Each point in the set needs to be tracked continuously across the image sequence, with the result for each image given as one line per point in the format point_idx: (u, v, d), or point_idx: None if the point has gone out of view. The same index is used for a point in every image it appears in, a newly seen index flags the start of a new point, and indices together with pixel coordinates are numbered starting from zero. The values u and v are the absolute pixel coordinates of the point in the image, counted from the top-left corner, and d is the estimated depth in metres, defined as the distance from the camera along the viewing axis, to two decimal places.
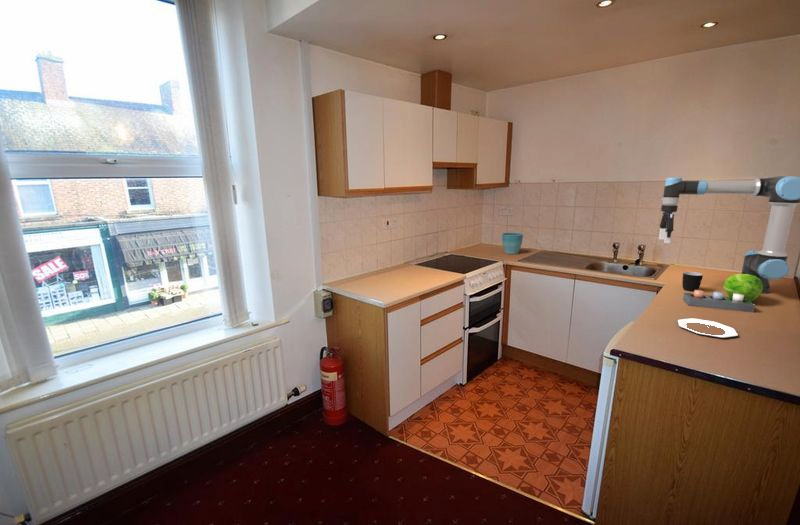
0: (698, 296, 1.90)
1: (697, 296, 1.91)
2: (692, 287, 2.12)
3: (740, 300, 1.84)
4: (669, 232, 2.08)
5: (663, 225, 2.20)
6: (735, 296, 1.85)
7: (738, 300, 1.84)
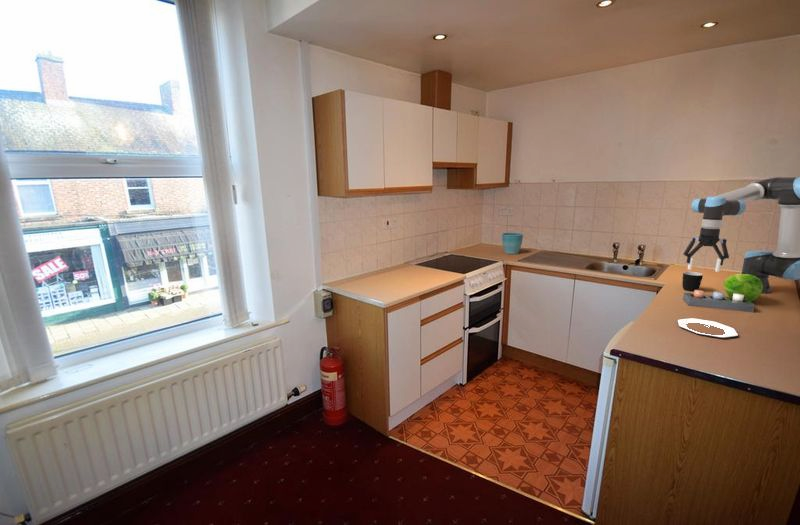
0: (698, 296, 1.90)
1: (697, 296, 1.91)
2: (692, 287, 2.12)
3: (740, 300, 1.84)
4: (687, 257, 1.90)
5: (717, 254, 1.85)
6: (735, 296, 1.85)
7: (738, 300, 1.84)
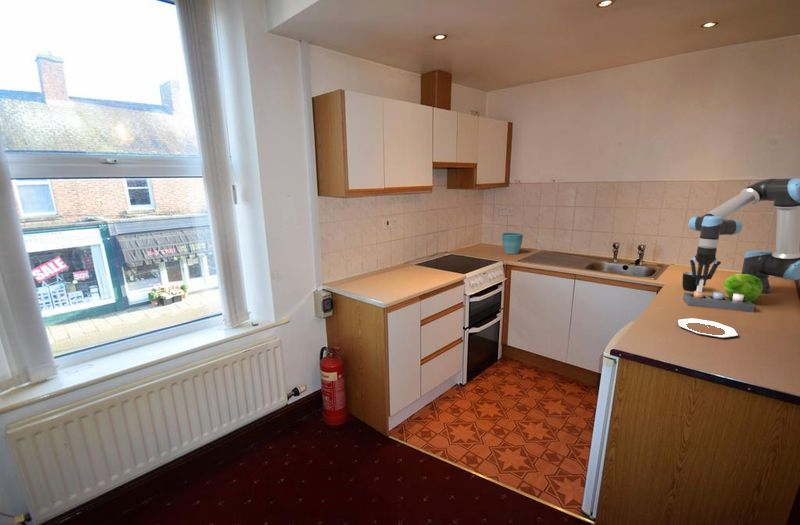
0: (698, 297, 1.90)
1: (697, 297, 1.91)
2: (692, 287, 2.12)
3: (740, 300, 1.84)
4: (696, 279, 1.91)
5: (703, 273, 1.89)
6: (735, 296, 1.85)
7: (738, 300, 1.84)
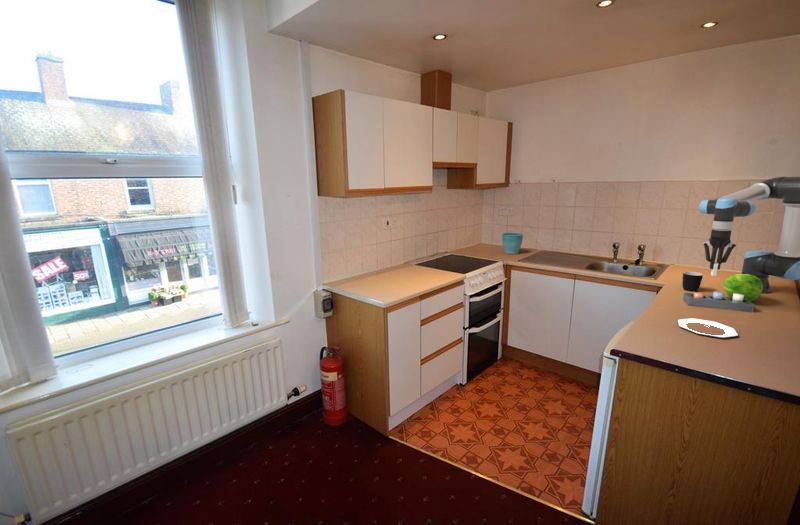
0: None
1: None
2: (692, 287, 2.12)
3: (740, 300, 1.84)
4: (710, 263, 1.87)
5: (718, 257, 1.85)
6: (735, 296, 1.85)
7: (738, 300, 1.84)
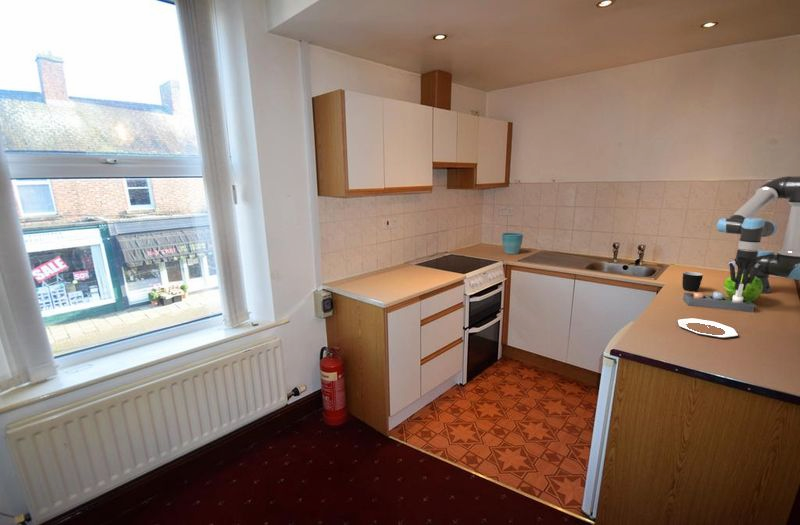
0: None
1: None
2: (692, 287, 2.12)
3: None
4: (735, 283, 1.84)
5: (743, 277, 1.83)
6: (735, 298, 1.85)
7: None
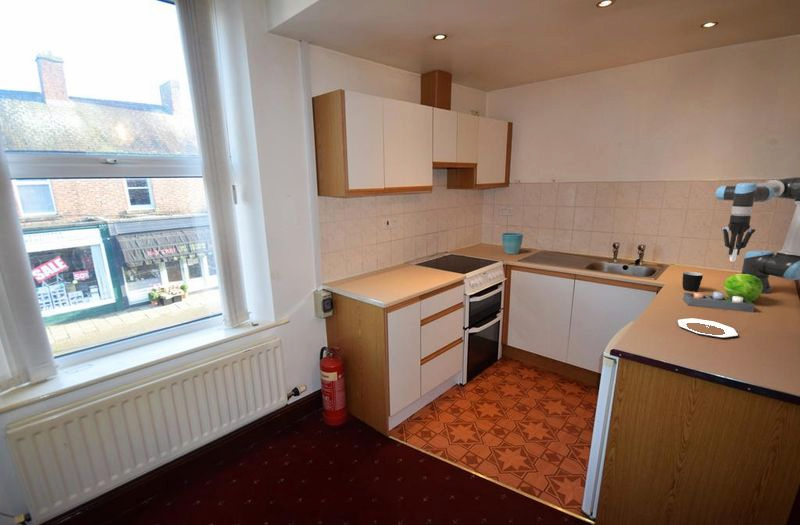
0: None
1: None
2: (692, 287, 2.12)
3: None
4: (729, 248, 1.87)
5: (737, 242, 1.85)
6: (734, 299, 1.85)
7: None
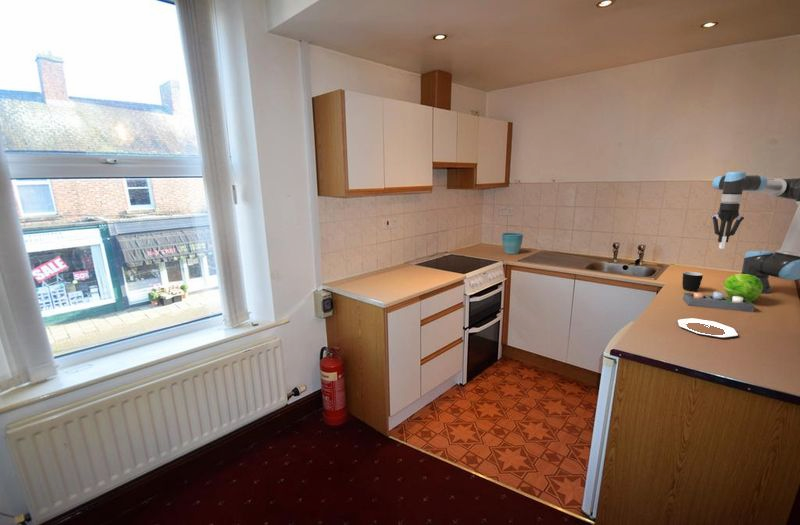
0: None
1: None
2: (692, 287, 2.12)
3: None
4: None
5: (726, 230, 1.90)
6: (734, 299, 1.85)
7: None
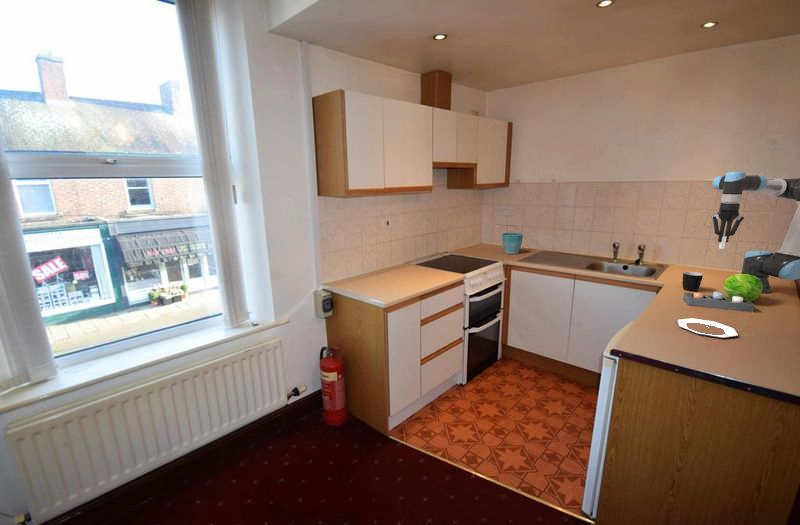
0: None
1: None
2: (692, 287, 2.12)
3: None
4: None
5: (726, 230, 1.90)
6: (734, 299, 1.85)
7: None
